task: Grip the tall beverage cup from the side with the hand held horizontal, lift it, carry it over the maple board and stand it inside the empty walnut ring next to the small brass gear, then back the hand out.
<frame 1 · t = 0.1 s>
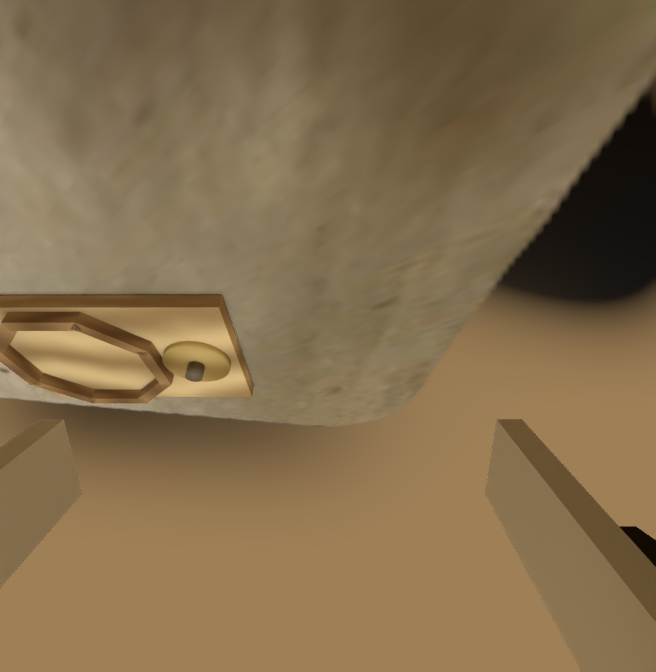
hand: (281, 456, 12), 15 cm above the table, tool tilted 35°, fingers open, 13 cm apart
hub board: (128, 348, 34), on the table
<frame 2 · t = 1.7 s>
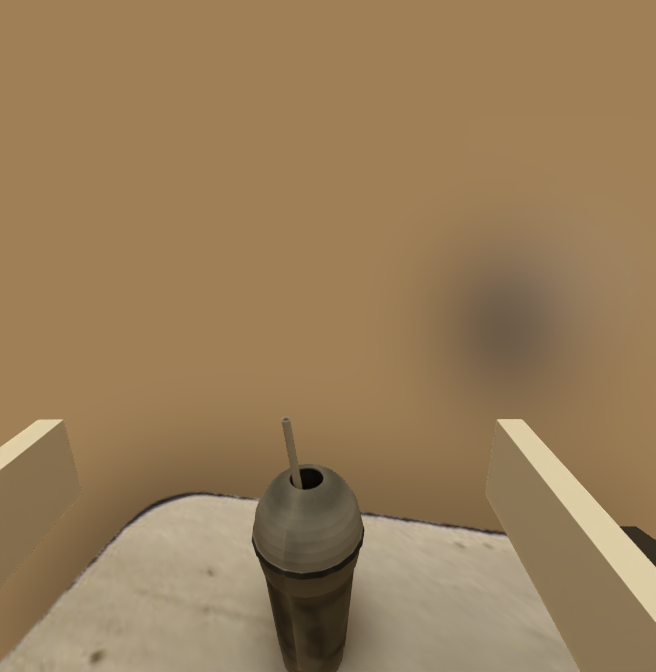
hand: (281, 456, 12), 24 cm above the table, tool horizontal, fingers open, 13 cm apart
beverage cup: (313, 650, 29), on the table
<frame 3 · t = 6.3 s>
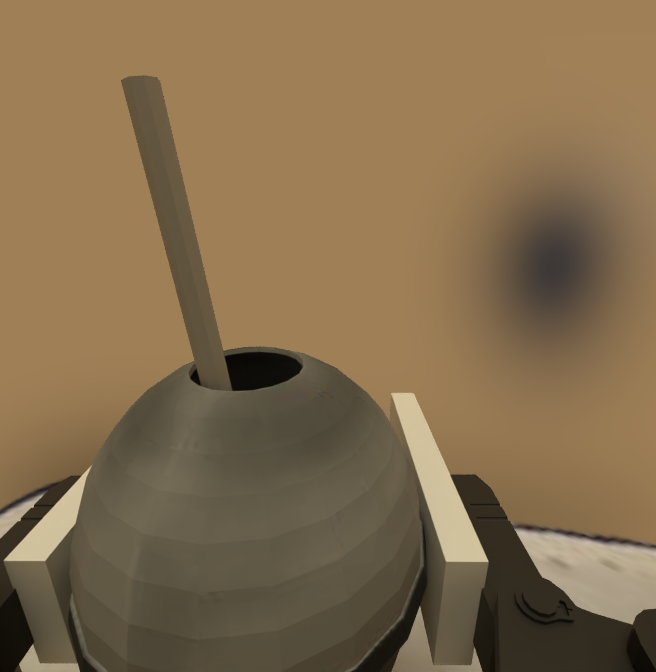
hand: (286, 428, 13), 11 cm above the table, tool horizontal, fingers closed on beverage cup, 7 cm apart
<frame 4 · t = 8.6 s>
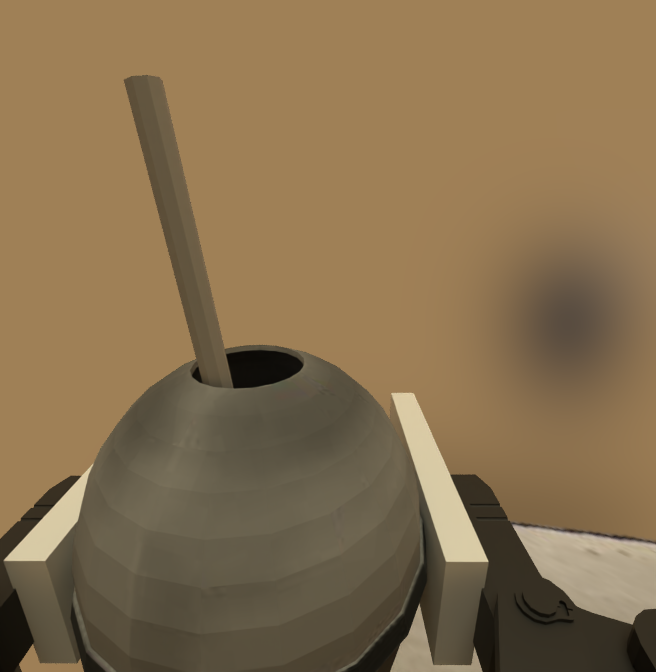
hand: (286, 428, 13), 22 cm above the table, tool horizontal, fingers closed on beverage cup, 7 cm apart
when the fingers open (14 cm above the table, at t = 11.1 s): beverage cup drops 1 cm, resting on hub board.
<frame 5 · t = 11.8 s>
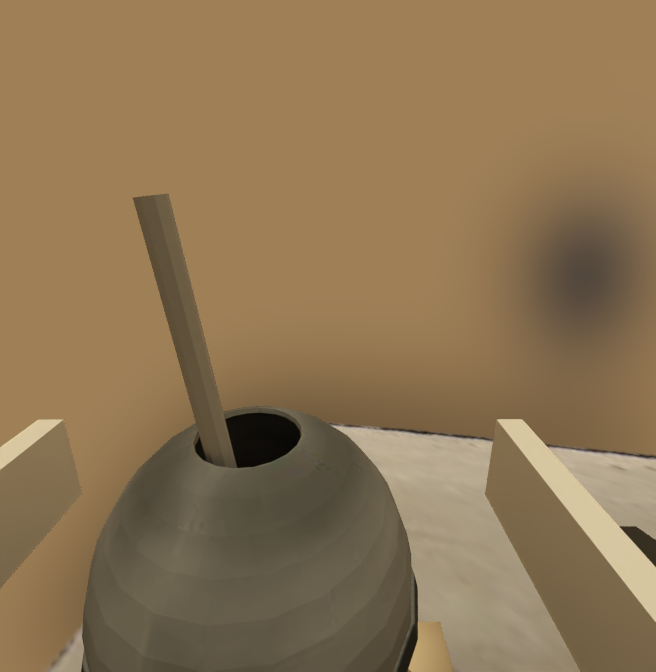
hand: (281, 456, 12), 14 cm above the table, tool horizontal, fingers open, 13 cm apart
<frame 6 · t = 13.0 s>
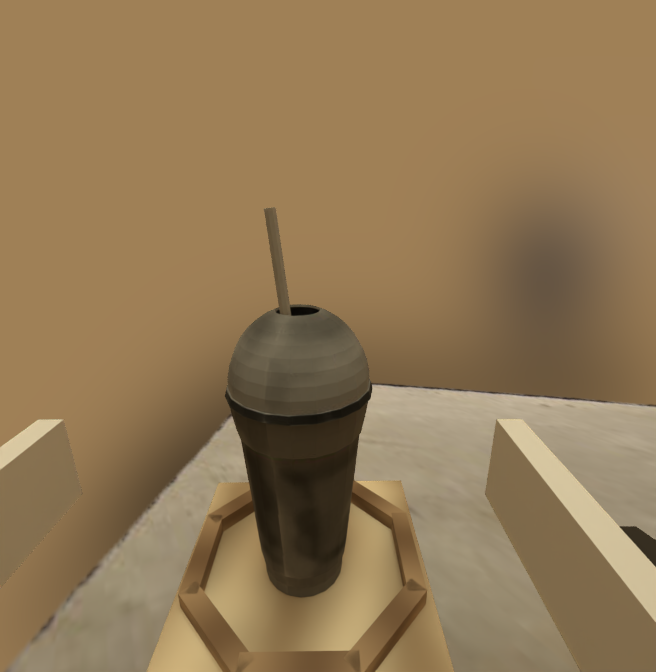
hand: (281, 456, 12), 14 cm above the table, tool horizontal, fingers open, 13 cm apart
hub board: (303, 627, 20), on the table
beverage cup: (304, 563, 23), point 1 cm above the table, touching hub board
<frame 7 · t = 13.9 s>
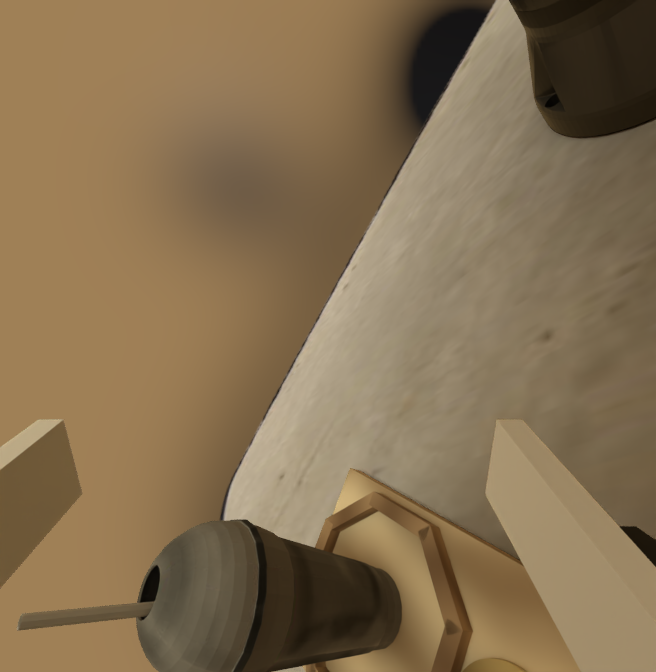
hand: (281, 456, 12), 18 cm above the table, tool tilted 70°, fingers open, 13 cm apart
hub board: (420, 637, 24), on the table
beverage cup: (377, 606, 26), point 1 cm above the table, touching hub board
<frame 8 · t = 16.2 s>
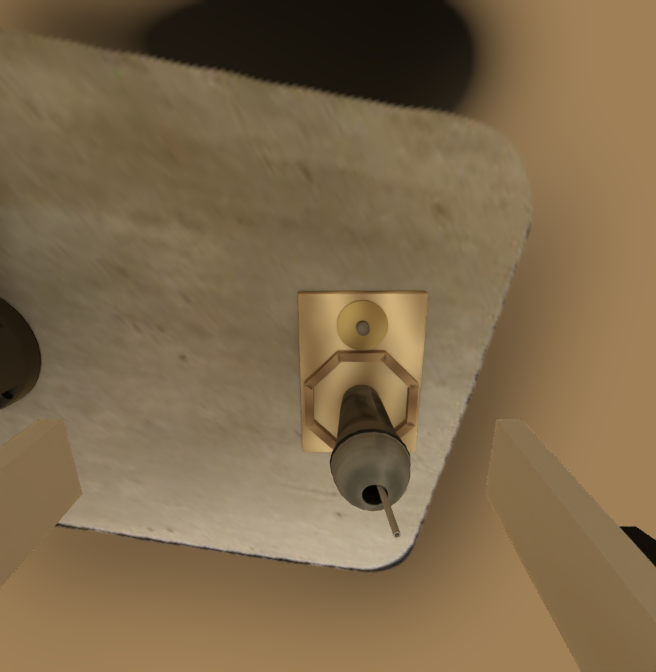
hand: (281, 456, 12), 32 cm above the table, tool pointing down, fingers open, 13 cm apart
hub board: (360, 374, 46), on the table
beverage cup: (360, 400, 45), point 1 cm above the table, touching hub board
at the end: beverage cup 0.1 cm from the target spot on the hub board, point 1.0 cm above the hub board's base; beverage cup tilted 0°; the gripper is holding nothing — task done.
